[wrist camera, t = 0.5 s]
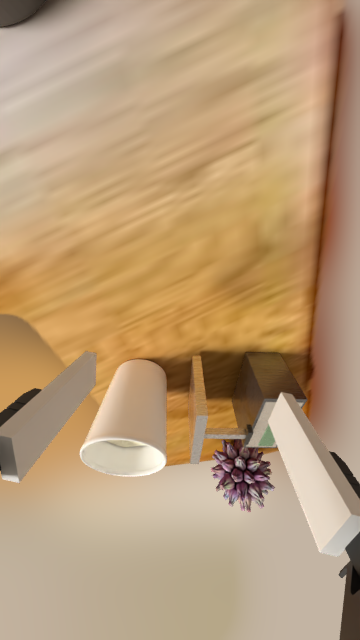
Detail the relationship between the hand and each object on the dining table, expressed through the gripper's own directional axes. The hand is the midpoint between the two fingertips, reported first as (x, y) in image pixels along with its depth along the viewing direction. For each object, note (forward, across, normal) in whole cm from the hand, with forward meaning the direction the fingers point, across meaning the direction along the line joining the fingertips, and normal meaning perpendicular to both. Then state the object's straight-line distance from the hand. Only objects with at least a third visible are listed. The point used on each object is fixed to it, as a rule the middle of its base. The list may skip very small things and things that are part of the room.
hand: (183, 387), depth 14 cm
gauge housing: (+17, +12, -9) cm, 23 cm away
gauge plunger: (+15, +5, -10) cm, 19 cm away
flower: (+22, +15, -28) cm, 39 cm away
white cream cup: (+15, -6, -12) cm, 20 cm away
